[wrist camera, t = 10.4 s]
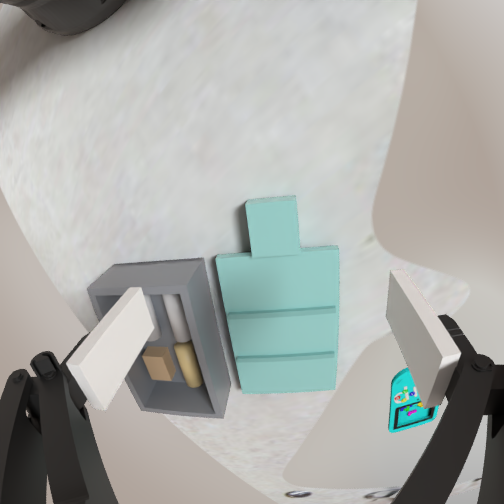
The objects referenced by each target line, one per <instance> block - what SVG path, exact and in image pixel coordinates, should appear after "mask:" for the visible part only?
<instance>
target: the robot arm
mask: <svg viewBox="0 0 504 504" xmlns="http://www.w3.org/2000/svg"><path fill="white" fill-rule="evenodd" d="M125 1H126V0H0V3H4V4H9V5H13V6H17V7H20V8H21V9H22V10H23V11H24V12H25V13H26V14H27V15H28V16H29V17H31V18H32V19H33V20H35V22H36V23H37V24H38V25H39V26H40V27H41V28H42V29H44V30H46V31H49V32H52V33H56V34H60V35H73V34H77V33H81V32H83V31H86V30H88V29H90V28H92V27H94V26H96V25H97V24H99V23H101V22H102V21H104V20H105V19H106V18H108V17H109V16H110V15H111V14H113V13H114V12H115V11H116V10H117V9H118V8H119V7H120V6H122V4H123V3H124V2H125ZM386 318H387V320H388V322H389V324H390V327H391V329H392V331H393V333H394V336H395V338H396V340H397V342H398V345H399V347H400V349H401V352H402V354H403V356H404V359H405V361H406V364H407V366H408V368H409V371H410V373H411V376H412V378H413V381H414V383H415V386H416V389H417V391H418V394H419V396H420V399H421V402H422V404H423V407H424V409H426V408H430V407H434V406H438V405H441V403H442V401H443V399H444V397H445V396H446V398H447V400H448V405H447V407H446V409H445V411H444V413H443V415H442V417H441V420H440V422H439V424H438V426H437V428H436V430H435V432H434V434H433V436H432V438H431V440H430V441H429V444H428V445H427V447H426V449H425V451H424V453H423V454H422V456H421V458H420V459H419V461H418V463H417V465H416V466H415V468H414V469H413V471H412V473H411V474H410V476H409V477H408V479H407V481H406V482H405V484H404V485H403V487H402V488H401V490H400V491H399V493H398V494H397V495H396V497H395V498H394V500H393V501H392V503H391V504H445V503H446V501H447V499H448V497H449V495H450V493H451V491H452V489H453V487H454V485H455V483H456V481H457V479H458V477H459V475H460V473H461V471H462V469H463V466H464V464H465V462H466V459H467V457H468V454H469V452H470V450H471V447H472V445H473V442H474V439H475V437H476V434H477V431H478V428H479V426H480V423H481V420H482V417H483V415H488V424H487V440H486V450H485V460H484V467H483V474H482V480H481V486H480V492H479V497H478V502H477V504H504V365H495V364H494V362H493V361H492V360H491V359H490V358H489V357H487V356H485V355H481V354H477V353H476V351H475V350H474V348H473V346H472V345H471V344H470V342H469V341H468V339H467V338H466V336H465V335H463V332H462V330H461V329H459V326H458V325H457V323H456V322H455V321H454V320H453V319H452V318H450V317H449V316H447V315H446V314H445V315H440V316H437V315H436V313H435V312H434V310H433V309H432V308H431V306H430V305H429V303H428V302H427V300H426V299H425V298H424V296H423V295H422V293H421V292H420V291H419V289H418V288H417V286H416V285H415V284H414V282H413V281H412V280H411V278H410V277H409V275H408V274H407V273H406V271H405V270H404V269H400V270H390V279H389V290H388V301H387V310H386ZM153 329H154V326H153V323H152V320H151V317H150V314H149V311H148V308H147V304H146V301H145V298H144V295H143V292H142V288H141V287H130V288H129V289H128V290H127V291H126V292H125V293H124V294H123V296H122V297H121V298H120V299H119V300H118V301H117V302H116V304H115V305H114V306H113V307H112V308H111V309H110V310H109V312H108V313H107V314H106V315H105V316H104V317H103V319H102V320H101V321H100V322H99V323H98V325H97V326H96V327H95V328H94V329H93V330H92V332H90V333H88V334H87V335H85V336H84V337H83V338H82V339H81V340H80V341H79V342H78V344H77V345H76V346H75V347H74V348H73V350H72V351H71V352H70V353H69V355H68V356H67V357H66V358H65V359H64V361H63V362H62V363H61V364H60V365H59V363H58V361H57V359H56V357H55V356H54V354H53V353H52V352H50V351H45V352H42V353H39V354H38V355H36V356H35V357H34V358H33V359H32V360H31V363H30V365H31V367H32V369H33V371H34V372H35V374H36V375H37V377H30V375H29V373H28V372H27V370H25V369H19V370H16V371H14V372H13V373H12V374H11V375H10V376H9V378H8V380H7V382H6V385H5V388H4V391H3V393H2V396H1V399H0V504H46V486H47V474H48V480H49V485H50V490H51V494H52V499H53V503H54V504H118V501H117V499H116V497H115V494H114V492H113V489H112V487H111V484H110V481H109V479H108V476H107V473H106V471H105V468H104V465H103V462H102V459H101V456H100V453H99V450H98V447H97V444H96V440H95V437H94V434H93V430H92V427H91V423H90V419H89V415H88V412H87V409H86V407H85V406H84V404H85V402H86V400H88V402H89V403H90V405H91V406H92V408H94V409H98V410H103V411H106V410H107V408H108V406H109V404H110V403H111V401H112V399H113V397H114V396H115V394H116V392H117V390H118V388H119V387H120V385H121V383H122V381H123V380H124V378H125V376H126V375H127V373H128V371H129V370H130V368H131V366H132V365H133V363H134V361H135V359H136V358H137V356H138V354H139V353H140V351H141V349H142V348H143V346H144V344H145V343H146V341H147V339H148V338H149V336H150V334H151V333H152V331H153ZM26 410H27V412H28V413H29V414H28V417H27V416H26Z"/></svg>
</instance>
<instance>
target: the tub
mask: <svg viewBox="0 0 504 504" xmlns="http://www.w3.org/2000/svg"><path fill="white" fill-rule="evenodd" d="M130 287H141V288H142V292H143V295H144V298H145V301H146V304H147V308H148V311H149V314H150V317H151V320H152V323H153V326H154V329H153V331H152V333H151V334H150V336H149V338H148V339H147V341H146V343H145V344H144V346H143V348H142V349H141V351H140V353H139V354H138V356H137V358H136V359H135V361H134V363H133V365H132V366H131V368H130V370H129V371H128V373H127V375H126V376H125V378H124V379H125V381H126V383H127V384H128V387H129V389H130V391H131V392H132V394H133V396H134V398H135V400H136V402H137V404H138V406H139V407H140V409H141V410H142V411H148V412H155V413H163V414H172V415H181V416H192V417H206V418H224V414H225V410H226V405H227V401H228V396H229V392H230V387H231V381H230V377H229V373H228V369H227V364H226V360H225V356H224V352H223V347H222V343H221V338H220V334H219V329H218V325H217V320H216V316H215V311H214V306H213V301H212V297H211V292H210V287H209V282H208V277H207V272H206V267H205V262H204V258H193V259H179V260H166V261H152V262H139V263H125V264H114V265H113V266H112V267H110V268H109V269H108V270H107V271H106V272H105V273H104V274H102V275H101V276H100V277H99V278H98V279H97V280H96V281H95V282H93V283H92V284H91V285H90V286H89V287H88V288H87V291H88V294H89V297H90V299H91V302H92V305H93V307H94V310H95V313H96V315H97V318H98V320H99V322H100V321H101V320H102V319H103V317H104V316H105V315H106V314H107V313H108V312H109V310H110V309H111V308H112V307H113V306H114V305H115V304H116V302H117V301H118V300H119V299H120V298H121V297H122V296H123V294H124V293H125V292H126V291H127V290H128V289H129V288H130Z"/></svg>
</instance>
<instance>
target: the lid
mask: <svg viewBox="0 0 504 504" xmlns="http://www.w3.org/2000/svg"><path fill="white" fill-rule="evenodd" d="M245 207H246V214H247V222H248V229H249V237H250V244H251V252H247V253H234V254H221V255H217V257H216V265H217V270H218V276H219V281H220V286H221V292H222V297H223V302H224V307H225V312H226V317H227V322H228V327H229V332H230V337H231V342H232V347H233V352H234V356H235V361H236V366H237V370H238V375H239V380H240V384H241V389H242V393H243V394H269V393H296V392H312V391H325V390H335V386H336V371H337V354H338V330H339V248H338V246H324V247H311V248H300V239H299V226H298V214H297V203H296V196H283V197H272V198H261V199H251V200H248V201H247V202H246V204H245Z"/></svg>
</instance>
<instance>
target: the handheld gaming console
mask: <svg viewBox="0 0 504 504" xmlns="http://www.w3.org/2000/svg"><path fill="white" fill-rule="evenodd" d="M438 407H439V405H438V406H434V407H430V408H426V409H424V407H423V404H422V402H421V399H420V396H419V394H418V391H417V389H416V386H415V383H414V381H413V378H412V376H411V373H410V371H409V368H408V367H407V368H405V369H403V370H401V371H400V372H398V373H397V374H396V375H395V376H394V377H393V379H392V381H391V397H390V412H389V424H388V428H389V431H390V432H391V433H394V432H398V431H402V430H405V429H409V428H412V427H416V426H418V425H422V424H425V423H428V422H431V421H432V420H434V419H435V417H436V415H437V411H438Z"/></svg>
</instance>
